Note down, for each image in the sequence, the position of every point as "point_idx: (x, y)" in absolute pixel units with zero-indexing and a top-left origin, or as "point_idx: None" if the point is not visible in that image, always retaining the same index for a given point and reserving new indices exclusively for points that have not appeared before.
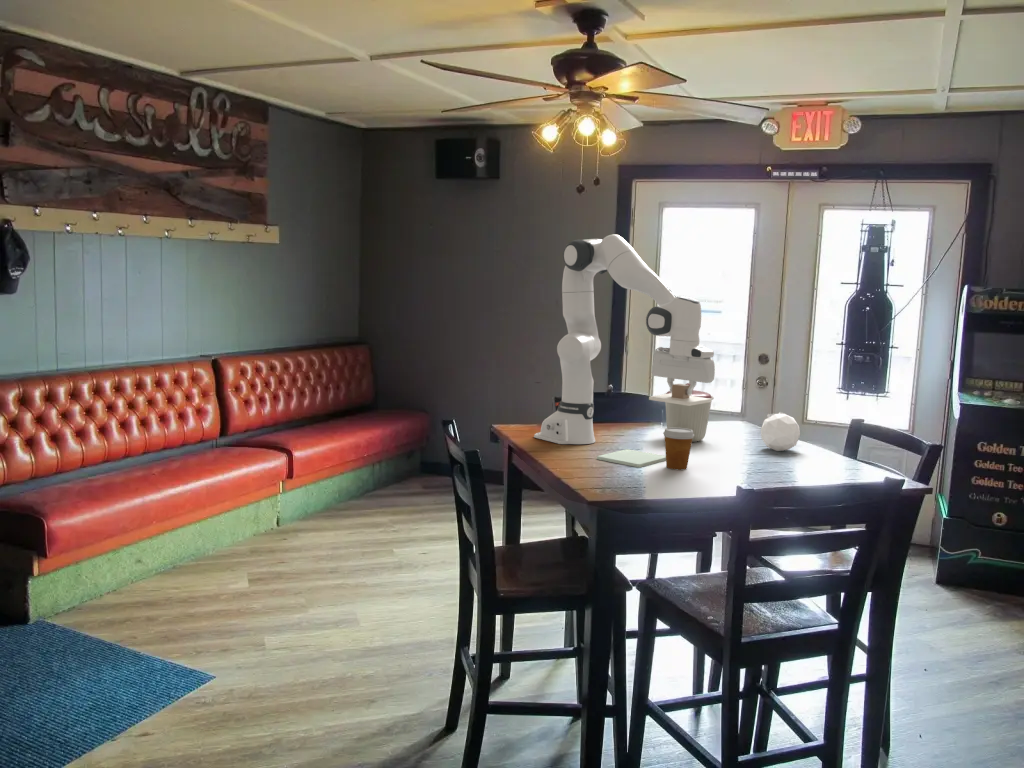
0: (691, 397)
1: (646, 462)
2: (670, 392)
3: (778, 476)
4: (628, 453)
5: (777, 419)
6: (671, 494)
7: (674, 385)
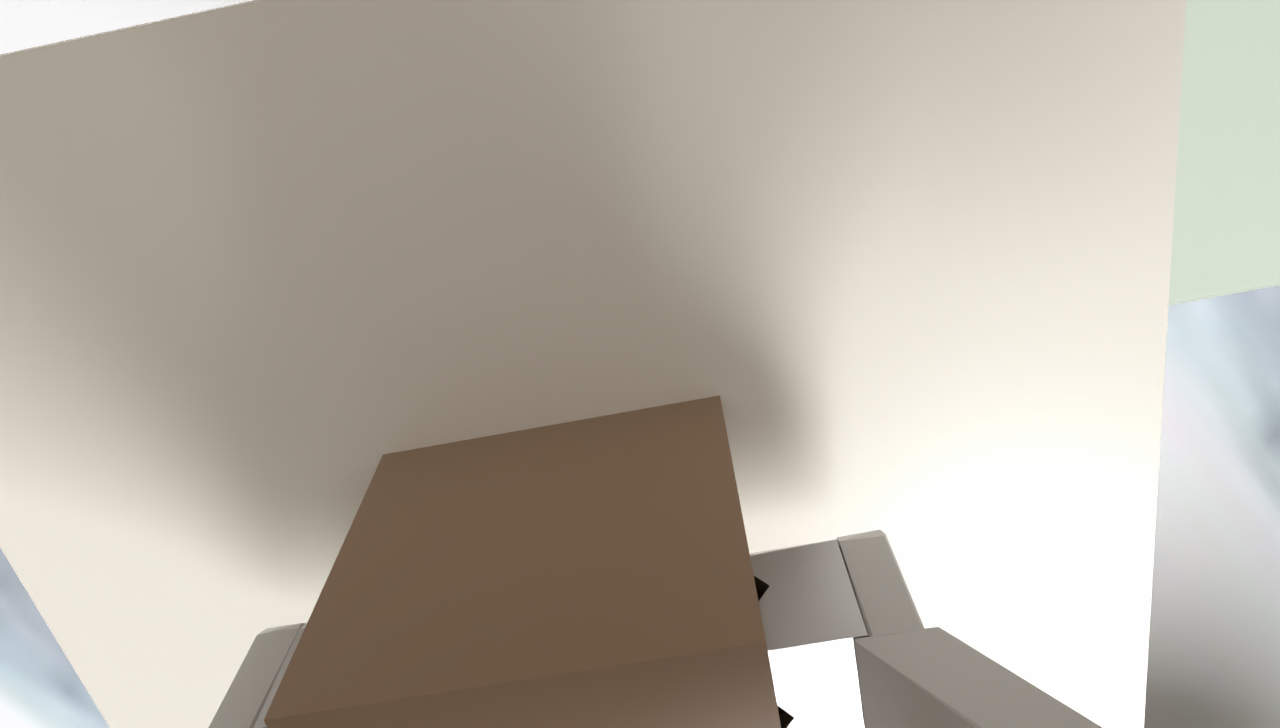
0: None
1: None
2: (860, 535)
3: (28, 601)
4: (1200, 129)
5: None
6: None
7: (673, 639)
